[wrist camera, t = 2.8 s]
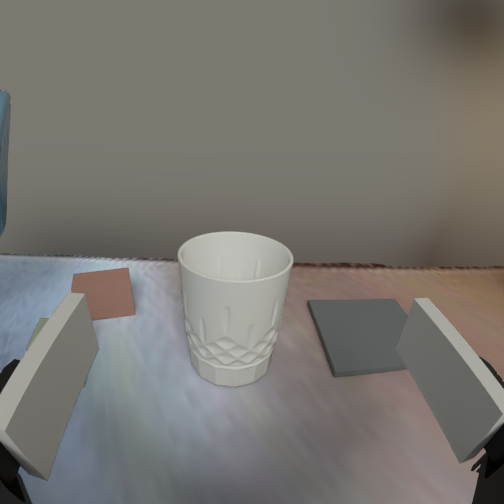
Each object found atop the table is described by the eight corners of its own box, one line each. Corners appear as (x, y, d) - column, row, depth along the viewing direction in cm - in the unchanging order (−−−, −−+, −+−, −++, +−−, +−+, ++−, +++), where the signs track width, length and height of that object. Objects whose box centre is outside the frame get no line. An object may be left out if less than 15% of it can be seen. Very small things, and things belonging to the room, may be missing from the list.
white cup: (291, 350, 27) (309, 248, 23) (247, 409, 21) (258, 296, 17) (218, 320, 31) (221, 224, 27) (165, 364, 24) (153, 256, 20)
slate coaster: (333, 376, 24) (335, 372, 24) (307, 304, 34) (308, 299, 34) (435, 363, 25) (438, 359, 25) (393, 303, 35) (394, 299, 35)
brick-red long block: (79, 322, 28) (71, 289, 26) (80, 306, 30) (73, 274, 29) (135, 315, 30) (130, 281, 28) (132, 300, 33) (128, 267, 31)
